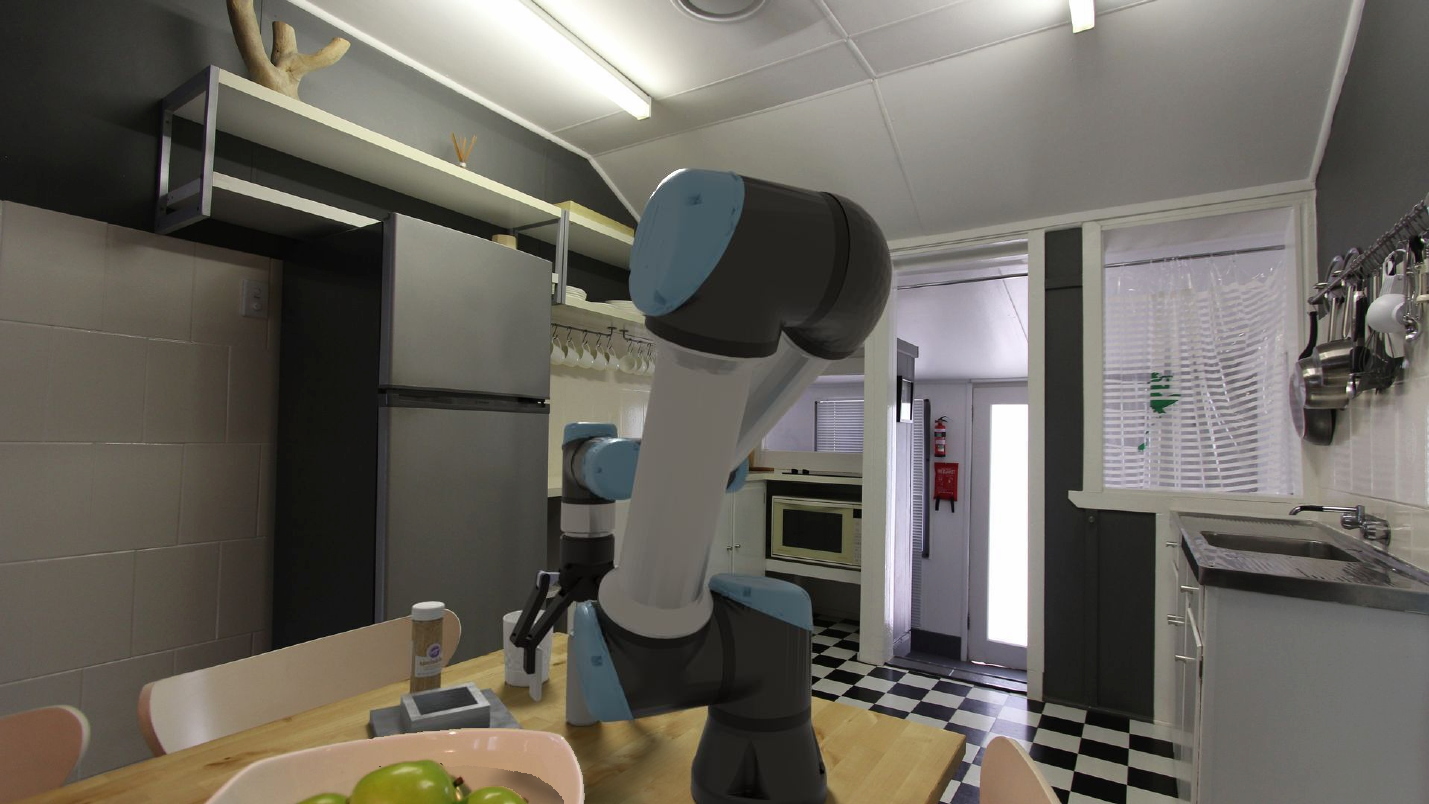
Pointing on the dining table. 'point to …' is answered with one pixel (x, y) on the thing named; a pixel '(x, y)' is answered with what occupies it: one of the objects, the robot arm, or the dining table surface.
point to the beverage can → (575, 691)
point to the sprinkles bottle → (426, 646)
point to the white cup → (522, 653)
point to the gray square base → (443, 711)
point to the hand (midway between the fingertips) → (583, 687)
